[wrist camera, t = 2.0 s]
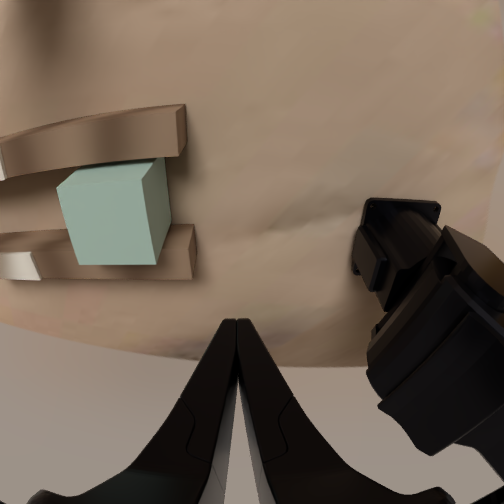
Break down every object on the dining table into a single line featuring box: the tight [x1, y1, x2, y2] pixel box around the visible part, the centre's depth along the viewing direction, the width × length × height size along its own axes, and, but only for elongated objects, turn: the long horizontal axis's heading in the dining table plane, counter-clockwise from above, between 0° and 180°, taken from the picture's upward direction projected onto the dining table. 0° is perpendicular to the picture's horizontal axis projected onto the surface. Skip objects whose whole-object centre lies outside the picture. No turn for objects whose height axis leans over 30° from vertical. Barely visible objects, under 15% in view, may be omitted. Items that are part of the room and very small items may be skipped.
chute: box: [0, 104, 197, 280], centre depth 18 cm, size 20×11×3 cm, turn 90°
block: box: [56, 157, 172, 265], centre depth 17 cm, size 5×5×5 cm
